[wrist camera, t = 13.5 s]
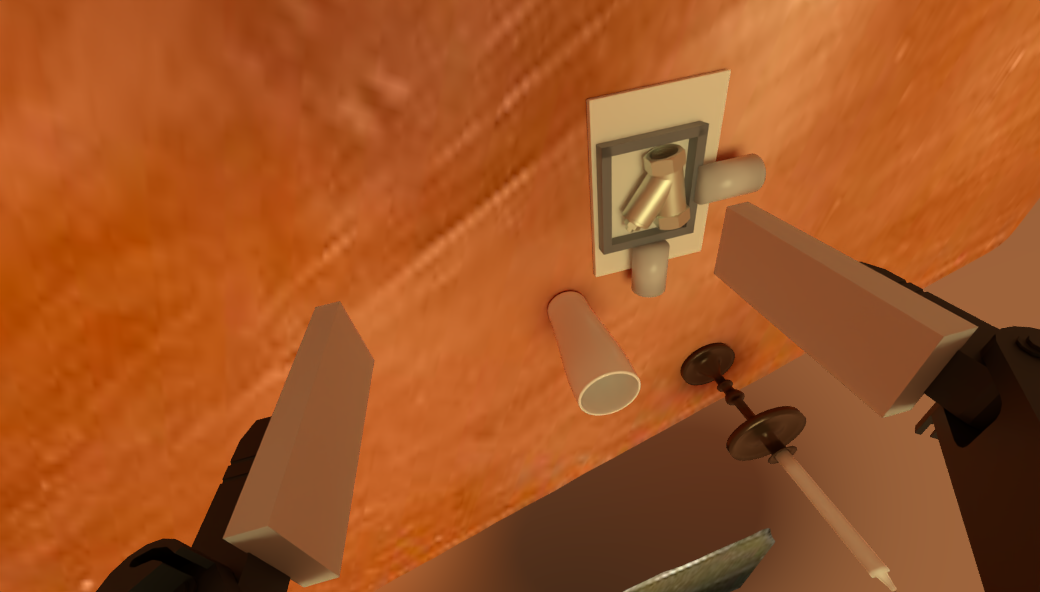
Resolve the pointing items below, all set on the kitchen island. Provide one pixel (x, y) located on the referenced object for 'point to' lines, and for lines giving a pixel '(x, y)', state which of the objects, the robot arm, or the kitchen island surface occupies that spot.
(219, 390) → the kitchen island surface
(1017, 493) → the robot arm
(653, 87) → the coupling board
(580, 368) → the drinking glass
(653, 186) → the pipe fitting
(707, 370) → the candlestick
